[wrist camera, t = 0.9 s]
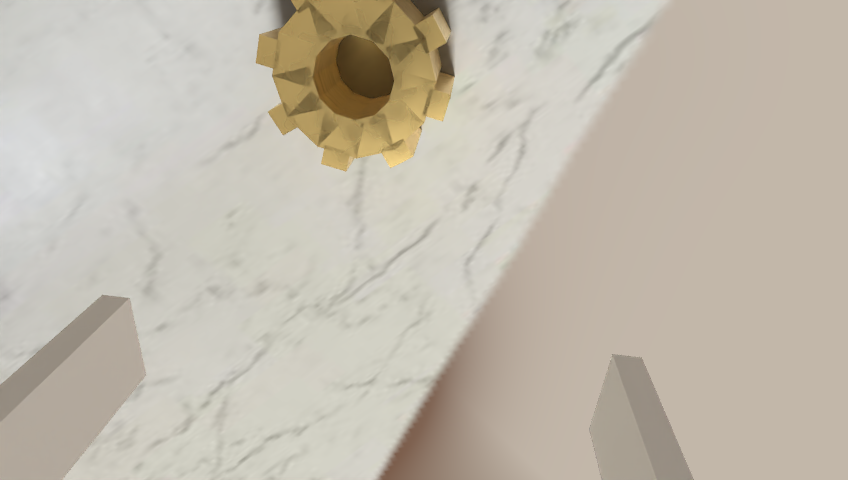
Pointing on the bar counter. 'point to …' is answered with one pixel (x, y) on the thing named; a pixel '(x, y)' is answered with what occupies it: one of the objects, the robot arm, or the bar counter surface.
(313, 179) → the bar counter surface
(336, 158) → the brass gear
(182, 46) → the bar counter surface
